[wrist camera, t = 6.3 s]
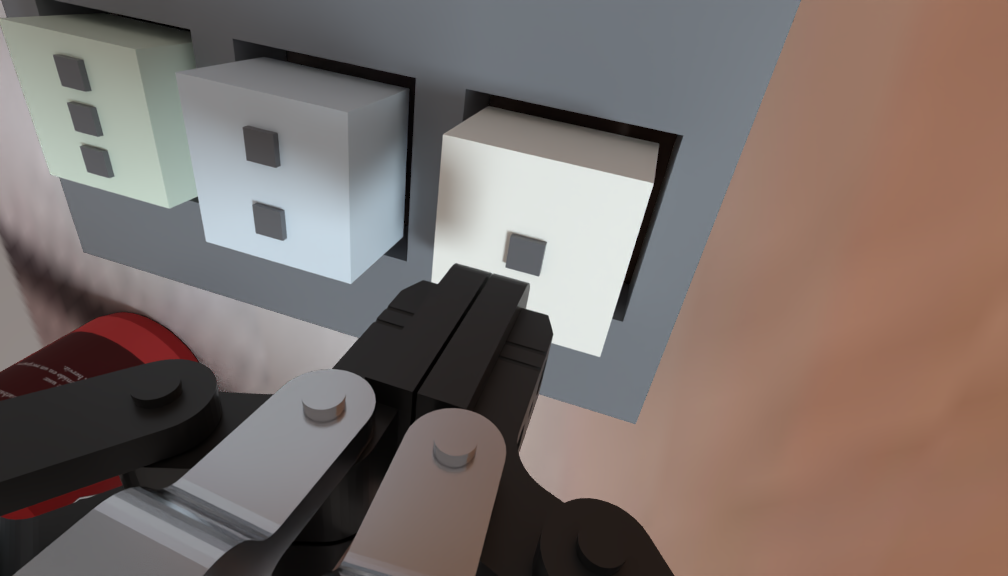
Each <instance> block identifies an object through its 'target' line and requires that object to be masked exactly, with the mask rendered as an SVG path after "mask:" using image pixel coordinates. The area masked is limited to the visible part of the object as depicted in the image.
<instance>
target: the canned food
mask: <svg viewBox="0 0 1008 576" xmlns="http://www.w3.org/2000/svg"><path fill="white" fill-rule="evenodd" d="M168 359H184V360H191V361H195V362H198V360H197V359H196V357H195V356H194V355H193V354H192V352H191V351H190V350H189V348H188V347H187V346H186V345H185V344H184V343H183V342H182V341H181V340H180V339H179V338H178V337H176V336H175V335H174V334H173V333H172V332H170V331H169V330H168V329H166V328H165V327H163V326H162V325H160V324H159V323H157V322H155V321H153V320H151V319H149V318H147V317H144V316H141V315H138V314H134V313H127V312H120V313H114V314H109V315H105V316H101V317H98V318H96V319H94V320H92V321H90V322H88V323H87V324H85V325H83V326H81V327H79V328H78V329H76V330H74V331H72V332H71V333H69V334H67V335H65V336H63V337H62V338H60V339H58V340H56V341H55V342H53V343H51V344H49V345H47V346H46V347H44V348H42V349H40V350H39V351H37V352H35V353H33V354H31V355H30V356H28V357H26V358H24V359H23V360H21V361H19V362H17V363H16V364H14V365H12V366H10V367H8V368H7V369H5V370H3V371H1V372H0V401H2V400H6V399H10V398H14V397H18V396H22V395H25V394H29V393H33V392H37V391H41V390H45V389H49V388H53V387H57V386H60V385H64V384H68V383H72V382H76V381H80V380H84V379H88V378H92V377H96V376H99V375H103V374H107V373H111V372H115V371H119V370H123V369H127V368H131V367H135V366H138V365H142V364H146V363H150V362H155V361H160V360H168ZM198 363H199V362H198ZM120 486H122V482H121V480H120V477H119V475H118V476H115V477H113V478H110V479H107V480H104V481H101V482H98V483H95V484H92V485H89V486H87V487H84V488H81V489H78V490H75V491H72V492H69V493H66V494H64V495H61V496H58V497H55V498H52V499H49V500H46V501H43V502H41V503H38V504H35V505H32V506H29V507H26V508H23V509H20V510H18V511H15V512H12V513H9V514H6V515H3V516H1V517H3V518H7V519H15V520H17V519H27V518H32V517H35V516H39V515H41V514H44V513H47V512H50V511H53V510H55V509H58V508H61V507H64V506H67V505H69V504H72V503H75V502H78V501H80V500H83V499H86V498H89V497H92V496H94V495H97V494H100V493H103V492H106V491H108V490H111V489H114V488H117V487H120Z"/></svg>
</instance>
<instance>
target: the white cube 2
mask: <svg viewBox="0 0 1008 576" xmlns="http://www.w3.org/2000/svg"><path fill="white" fill-rule="evenodd" d="M175 74H176V80H177V85H178V91H179V96H180V101H181V107H182V112H183V118H184V123H185V129H186V134H187V140H188V145H189V151H190V156H191V162H192V167H193V173H194V178H195V184H196V189H197V195H198V200H199V206H200V211H201V216H202V222H203V227H204V233H205V238H206V242H209V243H212V244H216V245H219V246H223V247H226V248H230V249H233V250H236V251H240V252H243V253H247V254H250V255H253V256H257V257H260V258H264V259H267V260H270V261H274V262H277V263H281V264H284V265H287V266H291V267H294V268H298V269H301V270H305V271H308V272H311V273H315V274H318V275H322V276H325V277H328V278H332V279H335V280H339V281H342V282H345V283H349V284H352V283H353V282H354V281H355V280H356V279H357V278H358V277H359V276H360V275H361V274H363V273H364V272H365V271H366V270H367V269H368V268H369V267H370V266H371V265H373V264H374V263H375V262H376V261H377V260H378V259H379V258H380V257H381V256H382V255H384V254H385V253H386V252H387V251H388V250H389V249H390V248H391V247H392V246H394V245H395V244H396V243H397V242H398V241H399V240H400V239H401V238H402V237H403V229H404V206H405V182H406V159H407V136H408V112H409V88H404V87H399V86H395V85H390V84H386V83H381V82H377V81H372V80H367V79H363V78H358V77H354V76H349V75H345V74H340V73H336V72H331V71H326V70H322V69H317V68H313V67H308V66H304V65H299V64H295V63H290V62H285V61H281V60H276V59H272V58H267V57H260V58H254V59H248V60H243V61H237V62H231V63H225V64H219V65H214V66H208V67H202V68H196V69H190V70H184V71H179V72H175Z"/></svg>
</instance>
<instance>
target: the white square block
mask: <svg viewBox="0 0 1008 576" xmlns="http://www.w3.org/2000/svg"><path fill="white" fill-rule="evenodd" d="M658 150H659V143H655V142H650V141H646V140H641V139H636V138H632V137H627V136H623V135H618V134H614V133H609V132H605V131H600V130H595V129H591V128H586V127H582V126H577V125H573V124H568V123H564V122H559V121H554V120H550V119H545V118H541V117H536V116H532V115H527V114H522V113H518V112H513V111H509V110H504V109H500V108H495V107H491V106H487V107H486V108H484V109H483V110H481V111H479V112H478V113H476V114H475V115H473V116H471V117H470V118H468V119H467V120H465V121H463V122H462V123H460V124H459V125H457V126H455V127H454V128H452V129H451V130H449V131H448V132H446V133H444V134H443V140H442V152H441V165H440V178H439V191H438V203H437V216H436V229H435V241H434V254H433V267H432V279H431V282H432V283H436V284H438V283H439V282H440V281H441V279H442V278H443V277H444V276H445V274H446V273H447V272H448V270H449V269H450V268H451V267H452V265H453V264H455V263H458V264H462V265H465V266H469V267H472V268H476V269H480V270H483V271H487V272H491V273H492V274H493V273H495V274H498V275H502V276H506V277H509V278H513V279H517V280H520V281H524V282H527V283H530V291H529V296H528V301H527V306H526V309H528V310H531V311H535V312H538V313H542V314H546V315H548V316H549V320H550V323H551V327H552V330H553V338H552V342H551V343H553V344H557V345H560V346H564V347H567V348H570V349H574V350H577V351H581V352H584V353H587V354H591V355H594V356H598V357H600V356H601V353H602V349H603V346H604V343H605V340H606V336H607V333H608V330H609V327H610V323H611V320H612V317H613V314H614V311H615V307H616V304H617V301H618V298H619V294H620V291H621V288H622V285H623V281H624V278H625V275H626V272H627V269H628V265H629V262H630V259H631V256H632V252H633V249H634V246H635V243H636V239H637V236H638V233H639V230H640V227H641V223H642V220H643V217H644V214H645V210H646V207H647V204H648V201H649V197H650V194H651V191H652V188H653V185H654V179H655V171H656V164H657V157H658Z"/></svg>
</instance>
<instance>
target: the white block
mask: <svg viewBox="0 0 1008 576" xmlns="http://www.w3.org/2000/svg"><path fill="white" fill-rule="evenodd" d="M0 25H1V28H2V31H3V34H4V37H5V40H6V43H7V46H8V49H9V52H10V55H11V58H12V61H13V64H14V67H15V70H16V73H17V76H18V79H19V82H20V85H21V88H22V91H23V94H24V97H25V100H26V103H27V106H28V109H29V112H30V115H31V118H32V121H33V124H34V127H35V130H36V133H37V136H38V139H39V142H40V145H41V148H42V151H43V154H44V157H45V160H46V163H47V166H48V169H49V172H50V175H53V176H57V177H60V178H64V179H67V180H71V181H74V182H78V183H81V184H85V185H88V186H92V187H95V188H99V189H102V190H106V191H109V192H113V193H116V194H120V195H123V196H127V197H130V198H134V199H137V200H141V201H144V202H148V203H151V204H155V205H158V206H162V207H165V208H169V209H170V208H172V207H175V206H177V205H179V204H181V203H184V202H186V201H188V200H191V199H193V198H195V197H197V196H198V195H197V189H196V184H195V178H194V173H193V167H192V162H191V156H190V151H189V145H188V140H187V134H186V129H185V123H184V118H183V112H182V107H181V101H180V96H179V91H178V85H177V80H176V74H175V72H179V71H184V70H190V69H196V62H195V56H194V50H193V44H192V38H191V32H189V31H185V30H180V29H175V28H171V27H166V26H162V25H157V24H152V23H148V22H143V21H138V20H134V19H129V18H124V17H120V16H115V15H111V14H106V13H93V14H73V15H52V16H32V17H11V18H0Z"/></svg>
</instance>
